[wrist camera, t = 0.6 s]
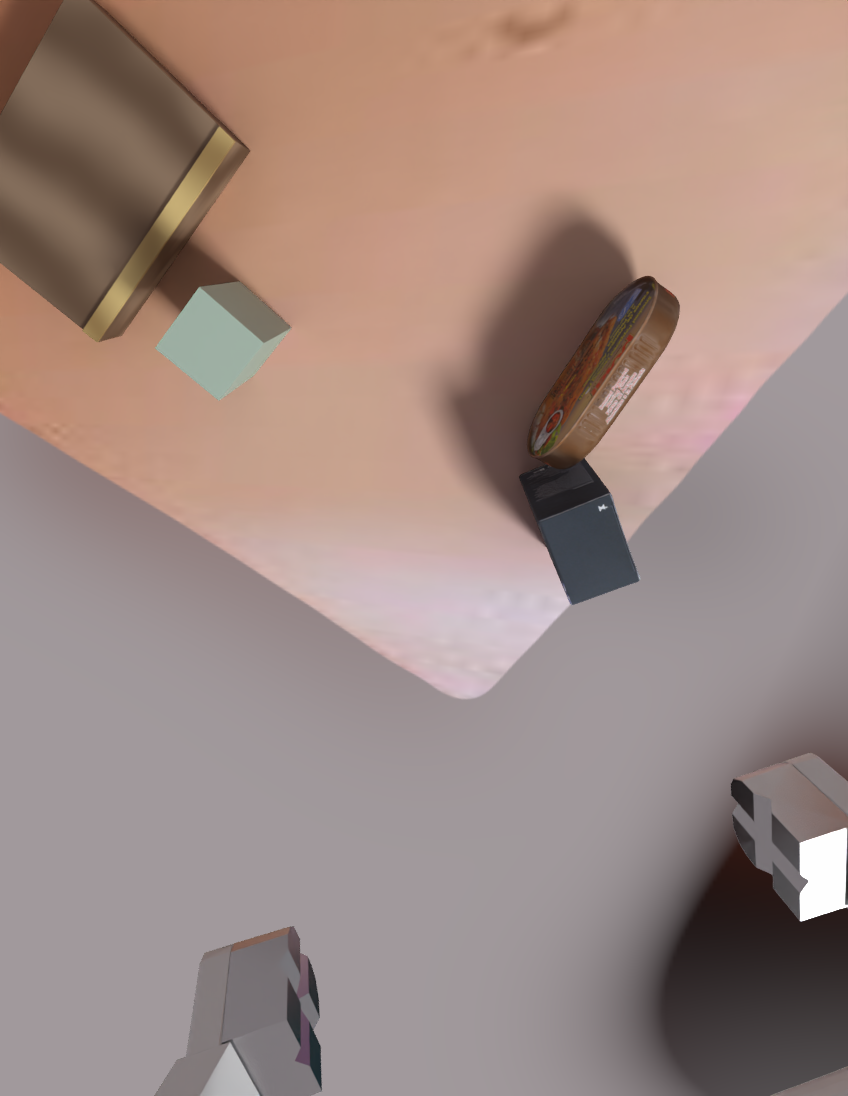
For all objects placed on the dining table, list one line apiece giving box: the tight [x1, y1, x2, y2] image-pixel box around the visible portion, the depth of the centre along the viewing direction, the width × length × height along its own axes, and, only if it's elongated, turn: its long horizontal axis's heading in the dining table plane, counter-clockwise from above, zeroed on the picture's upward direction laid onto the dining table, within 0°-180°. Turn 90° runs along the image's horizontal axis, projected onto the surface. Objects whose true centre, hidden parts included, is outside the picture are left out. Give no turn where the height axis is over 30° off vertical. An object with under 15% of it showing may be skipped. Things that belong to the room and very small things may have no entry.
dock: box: [0, 0, 250, 342], centre depth 45 cm, size 17×12×4 cm
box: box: [519, 458, 640, 605], centre depth 52 cm, size 8×6×11 cm
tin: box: [527, 276, 680, 469], centre depth 49 cm, size 15×3×8 cm, turn 149°
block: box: [155, 281, 291, 400], centre depth 47 cm, size 5×5×10 cm
